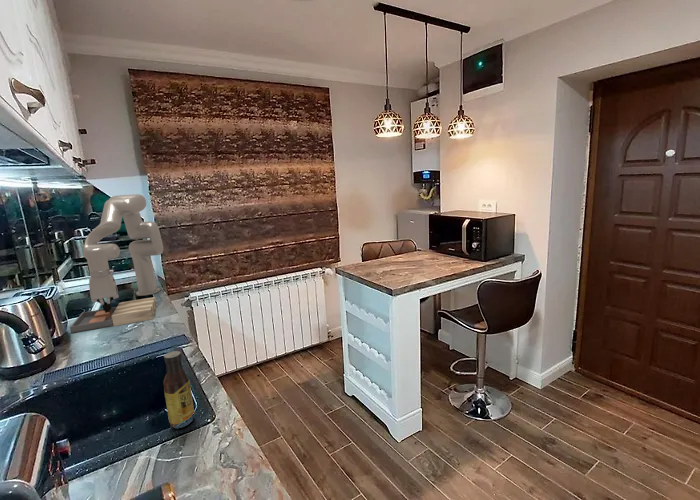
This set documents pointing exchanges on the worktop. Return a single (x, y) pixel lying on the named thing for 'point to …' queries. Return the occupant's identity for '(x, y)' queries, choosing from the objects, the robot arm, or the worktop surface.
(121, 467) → the worktop surface
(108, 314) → the tile
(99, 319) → the tile
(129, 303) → the bench plate
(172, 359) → the sauce bottle
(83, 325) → the box
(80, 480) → the worktop surface
